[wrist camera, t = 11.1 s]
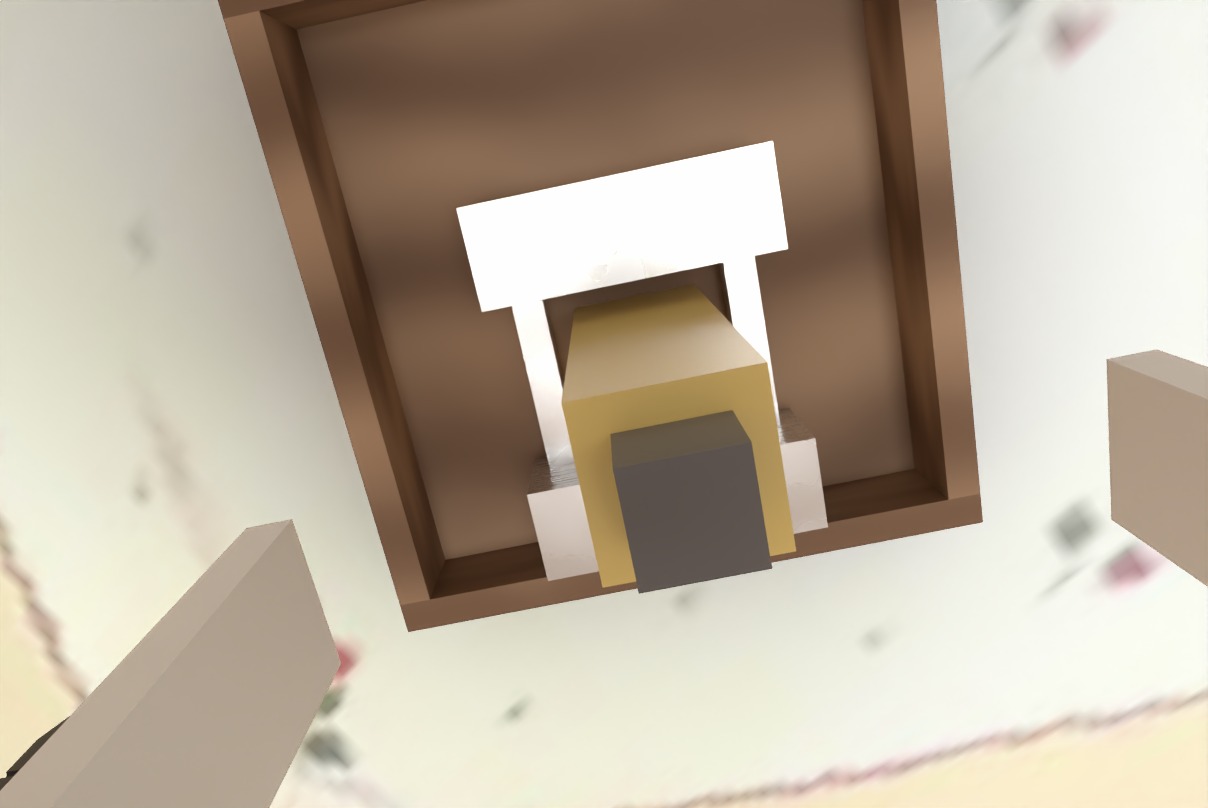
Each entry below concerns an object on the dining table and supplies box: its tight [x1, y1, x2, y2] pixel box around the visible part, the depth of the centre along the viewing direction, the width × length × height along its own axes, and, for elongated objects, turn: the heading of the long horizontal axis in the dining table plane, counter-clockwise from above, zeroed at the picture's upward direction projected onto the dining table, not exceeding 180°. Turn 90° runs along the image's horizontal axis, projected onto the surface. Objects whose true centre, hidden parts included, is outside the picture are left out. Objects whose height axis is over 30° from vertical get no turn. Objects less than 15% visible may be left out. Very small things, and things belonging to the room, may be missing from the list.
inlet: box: [456, 141, 828, 581], centre depth 26 cm, size 12×9×3 cm
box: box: [218, 0, 983, 632], centre depth 26 cm, size 20×19×4 cm
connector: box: [561, 284, 796, 593], centre depth 21 cm, size 4×4×14 cm
